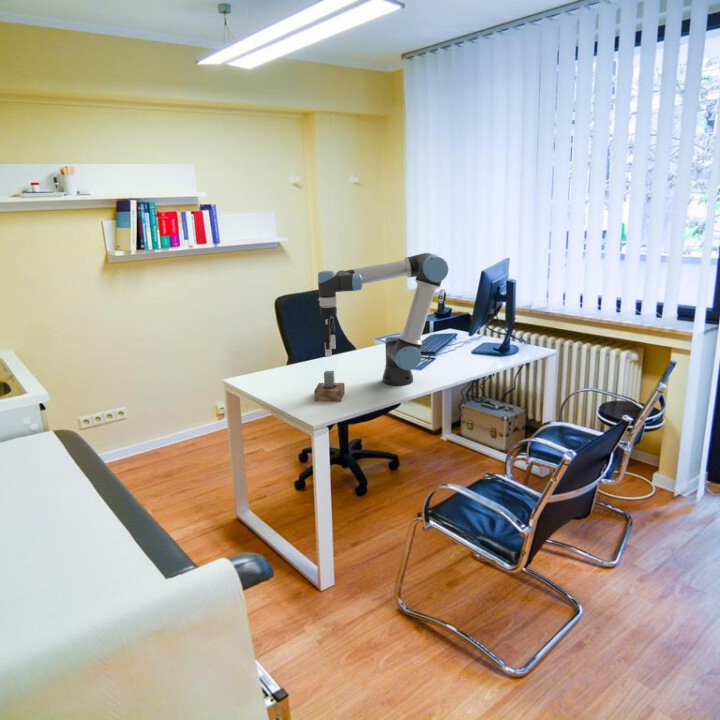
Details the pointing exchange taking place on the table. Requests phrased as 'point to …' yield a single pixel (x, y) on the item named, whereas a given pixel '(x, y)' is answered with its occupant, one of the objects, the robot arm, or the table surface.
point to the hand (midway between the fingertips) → (330, 352)
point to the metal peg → (329, 380)
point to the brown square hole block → (329, 392)
